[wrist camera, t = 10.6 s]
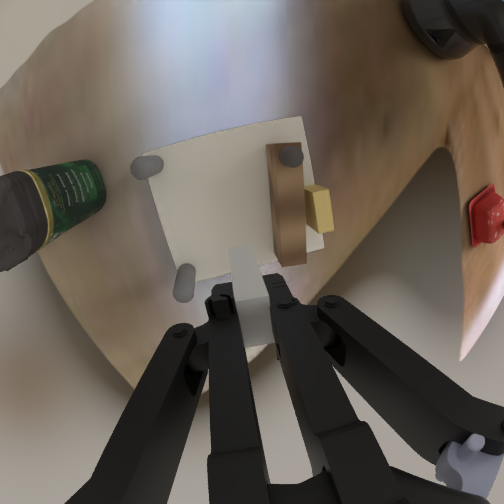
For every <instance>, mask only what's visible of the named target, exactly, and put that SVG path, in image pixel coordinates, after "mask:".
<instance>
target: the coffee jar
mask: <svg viewBox="0 0 504 504" xmlns="http://www.w3.org/2000/svg"><path fill="white" fill-rule="evenodd" d="M105 199H106V191H105V186H104V183H103V180H102V177H101V174H100V172H99V170H98V168H97V167H96V166H95V164H94V163H92V162H91V161H88V160H80V161H73V162H68V163H63V164H57V165H52V166H47V167H41V168H36V169H31V170H18V171H14V172H11V173H8V174H5V175H2V176H0V272H2V271H5V270H6V271H8V270H10V269H11V268H13V267H15V266H16V265H18V264H19V263H21V262H23V261H25V260H27V259H28V257H29V256H31V255H32V254H34V253H35V252H37V251H38V250H39V249H41V248H42V247H44V246H45V245H47V244H48V243H50V242H51V241H52V240H54V239H56V238H57V237H59V236H60V235H61V234H63V233H65V232H66V231H67V230H69V229H70V228H72V227H74V226H75V225H77V224H79V223H80V222H82V221H84V220H86V219H87V218H89V217H90V216H92V215H93V214H95V213H96V212H98V211H99V210H100V209H101V208H102V207H103V205H104V203H105Z"/></svg>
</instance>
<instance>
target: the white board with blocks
mask: <svg viewBox="0 0 504 504" xmlns="http://www.w3.org/2000/svg"><path fill="white" fill-rule="evenodd" d="M292 142H301V145H302V152H303V155H304V160H303V175H304V193H305V216H306V253H308V252H311V251H315V250H318V249H322V248H324V243H323V235H322V233H325V232H329V231H333V230H334V224H333V216H332V208H331V201H330V194H329V189H327V188H324V187H321V186H318V185H316V184H315V183H314V177H313V171H312V166H311V160H310V155H309V150H308V145H307V140H306V135H305V130H304V126H303V121H302V117H301V116H297V117H290V118H284V119H277V120H272V121H266V122H261V123H255V124H250V125H245V126H241V127H236V128H232V129H227V130H223V131H219V132H215V133H211V134H207V135H203V136H199V137H195V138H192V139H188V140H185V141H181V142H178V143H174V144H171V145H168V146H165V147H162V148H158V149H155V150H152V151H149V152H146V153H143V154H141V155H142V156H140V157H137V158H136V159H135V160H134V161H133V162H132V165H131V173H132V175H133V176H134V177H135V178H136V179H139V180H144V179H147V178H148V181H149V184H150V188H151V191H152V195H153V198H154V201H155V205H156V208H157V211H158V214H159V218H160V221H161V224H162V227H163V230H164V233H165V236H166V239H167V242H168V245H169V248H170V251H171V254H172V257H173V260H174V263H175V265H176V268H177V271H178V272H177V276H176V280H175V285H174V289H173V296H174V298H175V299H176V300H177V301H178V302H181V303H187V302H189V301H191V300H192V298H193V296H194V286H195V282H198V281H202V280H206V279H210V278H214V277H217V276H221V275H225V274H229V273H231V270H230V262H229V254H228V248H232V247H238V246H244V245H249V244H251V247H252V249H253V252H254V255H255V258H256V261H257V263H258V266H259V265H263V264H267V263H271V262H274V261H278V259H277V257H276V256H275V254H274V246H273V231H272V217H271V204H270V191H269V179H268V167H267V155H266V144H274V143H292Z"/></svg>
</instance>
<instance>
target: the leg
mask: <svg viewBox="0 0 504 504" xmlns="http://www.w3.org/2000/svg"><path fill="white" fill-rule="evenodd" d="M266 155H267V167H268V179H269V191H270V204H271V217H272V231H273V246H274V254H275V256H276V257H277V259H278V261H279V262H280V264H281V266H282V267H286V266H293V265H300V264H306V263H307V253H306V216H305V193H304V175H303V160H304V155H303V152H302V145H301V142H292V143H274V144H266Z"/></svg>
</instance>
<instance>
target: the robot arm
mask: <svg viewBox="0 0 504 504" xmlns="http://www.w3.org/2000/svg"><path fill="white" fill-rule="evenodd" d="M402 4H403V10H404V13H405V15H406V18H407V20H408V22H409V24H410V25H411V27H412V29H413V30H414V32H415V33H416V34H417V36H418V37H419V38H420V40H421V41H422V42H423V43H424V44H425V45H426V46H427V47H428V48H429V49H430V50H431V51H432V52H434V53H435V54H436V55H438V56H440V57H442V58H444V59H447V60H453V59H458V58H461V57H463V56H465V55H466V54H467V53H469V52H470V51H471V50H473V49H474V48H475V47H477V46H478V45H481V44H487V46H488V48H489V50H490V52H491V55H492V57H493V60H494V62H495V65H496V67H497V70H498V72H499V75H500V78H501V81H502V84H503V87H504V0H402ZM228 254H229V262H230V270H231V277H232V282H228V283H223V284H217V285H215V286H214V287H213V289H212V296H210V297H208V298H207V299H206V301H205V306H206V310H207V313H208V317H209V321H208V322H207V323H205V324H204V325H201V326H199V327H196V328H194V327H193V326H192V325H191V324H188V323H179V324H176V325H173V326H172V327H170V328H169V329H168V330H167V331H166V333H165V335H164V337H163V339H162V340H161V342H160V344H159V346H158V348H157V349H156V351H155V353H154V355H153V357H152V358H151V360H150V362H149V364H148V366H147V368H146V369H145V371H144V373H143V375H142V377H141V379H140V381H139V383H138V384H137V386H136V388H135V390H134V392H133V394H132V396H131V398H130V400H129V402H128V404H127V405H126V407H125V409H124V411H123V413H122V415H121V417H120V419H119V421H118V423H117V425H116V427H115V429H114V431H113V433H112V435H111V437H110V439H109V441H108V443H107V445H106V447H105V449H104V451H103V453H102V455H101V457H100V460H99V462H98V464H97V466H96V468H95V471H94V472H93V474H92V477H91V479H89V480H88V481H87V482H86V483H85V484H84V485H83V486H82V488H80V489H79V490H78V491H77V492H76V493H75V494H74V495H73V496H72V497H71V498H70V499H69V500H68V501H67V502H66V503H65V504H167V501H168V498H169V495H170V492H171V488H172V485H173V482H174V478H175V475H176V472H177V469H178V466H179V463H180V459H181V456H182V453H183V450H184V447H185V443H186V440H187V437H188V434H189V431H190V427H191V424H192V421H193V418H194V415H195V412H196V408H197V405H198V402H199V399H200V396H201V393H202V389H203V386H204V383H205V380H206V377H207V374H208V369H209V403H210V430H211V431H210V432H211V454H210V455H208V458H207V472H208V489H209V503H210V504H490V503H489V502H488V501H487V500H486V499H487V496H488V495H489V492H490V490H491V488H492V486H493V483H494V481H495V478H496V476H497V473H498V471H499V468H500V465H501V462H502V459H503V456H504V407H502V406H499V405H496V404H493V403H489V402H487V401H484V400H481V399H478V398H476V397H473V396H472V395H470V394H469V393H468V392H466V391H465V390H464V389H463V388H461V387H460V386H459V385H457V384H456V383H455V382H453V381H452V380H451V379H450V378H449V377H447V376H446V375H445V374H443V373H442V372H441V371H439V370H438V369H437V368H436V367H434V366H433V365H432V364H430V363H429V362H428V361H427V360H425V359H424V358H423V357H421V356H420V355H419V354H417V353H416V352H415V351H413V350H412V349H411V348H409V347H408V346H407V345H405V344H404V343H402V341H400V340H399V339H397V338H396V337H395V336H394V335H392V334H391V333H389V332H388V331H387V330H386V329H384V328H383V327H381V326H380V325H379V324H378V323H376V322H375V321H373V320H372V319H371V318H369V317H368V316H367V315H365V314H364V313H362V312H361V311H360V310H359V309H357V308H356V307H354V306H353V305H352V304H351V303H349V302H348V301H346V300H345V299H344V298H342V297H340V296H336V295H327V296H324V297H322V298H320V299H319V300H318V301H317V305H303V304H301V303H300V301H299V300H298V299H297V298H294V297H293V296H292V294H291V292H290V290H289V288H288V286H287V284H286V282H285V280H284V278H283V276H281V275H280V274H278V273H275V274H269V275H264V276H262V275H261V272H260V269H259V266H258V263H257V261H256V258H255V255H254V252H253V249H252V247H251V244H249V245H244V246H238V247H232V248H228ZM274 339H275V341H274ZM273 342H275V343H276V352H277V360H280V363H281V367H282V370H283V374H284V377H285V380H286V383H287V387H288V390H289V394H290V397H291V400H292V404H293V407H294V410H295V414H296V417H297V420H298V423H299V427H300V430H301V433H302V437H303V440H304V443H305V447H306V450H307V453H308V456H309V460H310V463H311V467H312V473H313V477H312V478H310V479H308V480H306V481H304V482H302V483H299V484H271V483H270V479H269V475H268V470H267V465H266V460H265V455H264V450H263V445H262V440H261V434H260V429H259V425H258V419H257V413H256V408H255V402H254V397H253V391H252V386H251V381H250V374H249V368H248V362H247V357H246V352H245V348H247V347H252V346H258V345H263V344H268V343H273ZM333 367H334V368H335V369H336V370H337V371H338V372H339V373H340V374H341V375H342V376H343V377H344V378H345V379H346V380H347V381H348V383H350V385H351V386H352V387H353V388H354V389H355V390H356V391H357V392H358V393H359V394H360V395H361V396H362V397H363V398H364V399H365V400H366V401H367V402H368V404H369V405H370V406H371V407H372V408H373V409H374V410H375V411H376V412H377V413H378V414H379V415H380V416H381V417H382V418H383V419H384V420H385V421H386V422H387V423H388V424H389V425H390V426H391V427H392V428H393V429H394V430H395V431H396V432H397V434H398V435H400V437H401V438H402V439H404V441H405V442H406V443H407V444H408V445H409V446H410V447H411V448H412V449H413V450H414V451H415V452H417V453H418V454H419V455H420V456H421V457H422V458H424V459H426V460H427V461H429V462H430V463H432V464H434V465H436V469H435V470H436V474H435V475H436V479H437V480H438V481H443V482H444V483H445V484H446V485H447V487H446V486H443V485H440V484H437V483H434V482H431V481H428V480H425V479H423V478H420V477H417V476H414V475H412V474H410V473H407V472H405V471H402V470H400V469H397V468H395V467H392V466H389V464H388V462H387V460H386V458H385V456H384V454H383V452H382V450H381V448H380V446H379V444H378V442H377V440H376V438H375V436H374V434H373V432H372V430H371V428H370V426H369V425H368V423H366V422H365V421H360V420H359V419H358V417H357V415H356V413H355V411H354V409H353V407H352V405H351V403H350V401H349V399H348V397H347V395H346V393H345V391H344V389H343V387H342V385H341V383H340V381H339V379H338V377H337V374H336V372H335V370H334V369H333Z"/></svg>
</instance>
